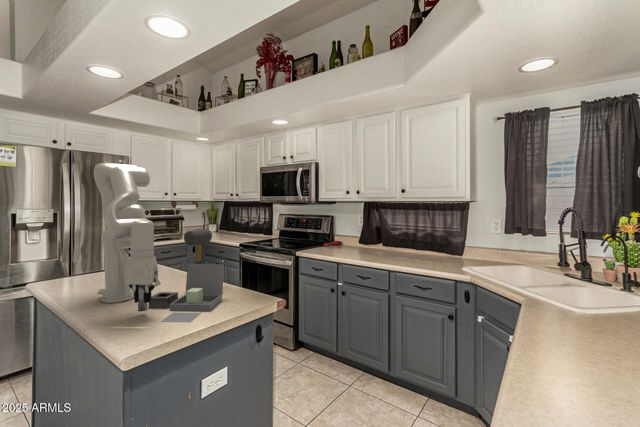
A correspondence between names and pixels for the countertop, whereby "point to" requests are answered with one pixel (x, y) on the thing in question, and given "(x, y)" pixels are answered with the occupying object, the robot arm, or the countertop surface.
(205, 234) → the rubber mallet
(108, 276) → the robot arm
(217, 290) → the lid
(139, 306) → the rod
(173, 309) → the case
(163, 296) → the square socket block
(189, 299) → the block
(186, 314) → the mat
